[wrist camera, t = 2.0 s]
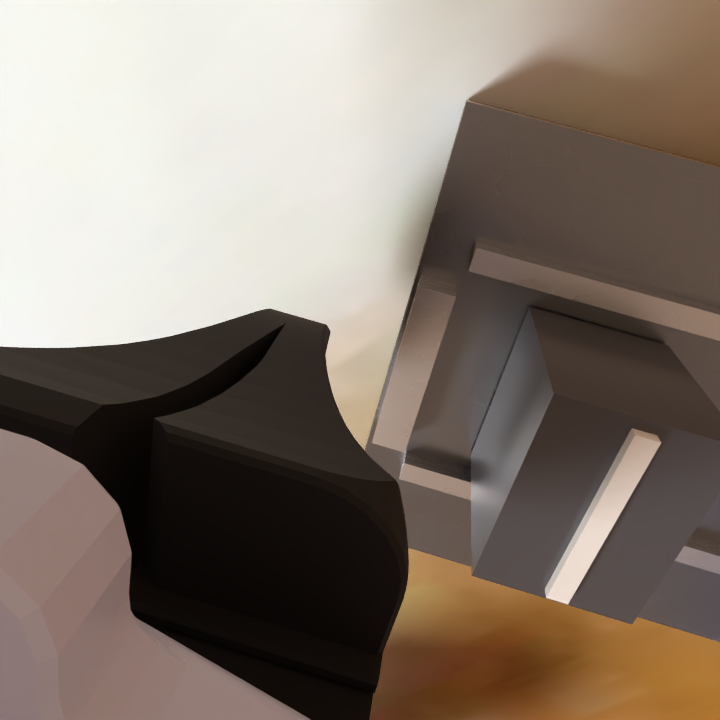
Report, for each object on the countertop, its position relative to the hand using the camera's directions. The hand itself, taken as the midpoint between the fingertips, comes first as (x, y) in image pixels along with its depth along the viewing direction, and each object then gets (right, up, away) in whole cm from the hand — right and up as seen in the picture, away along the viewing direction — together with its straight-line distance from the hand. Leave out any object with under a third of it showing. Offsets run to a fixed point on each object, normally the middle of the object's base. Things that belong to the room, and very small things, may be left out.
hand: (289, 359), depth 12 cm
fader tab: (+6, -1, +1) cm, 6 cm away
